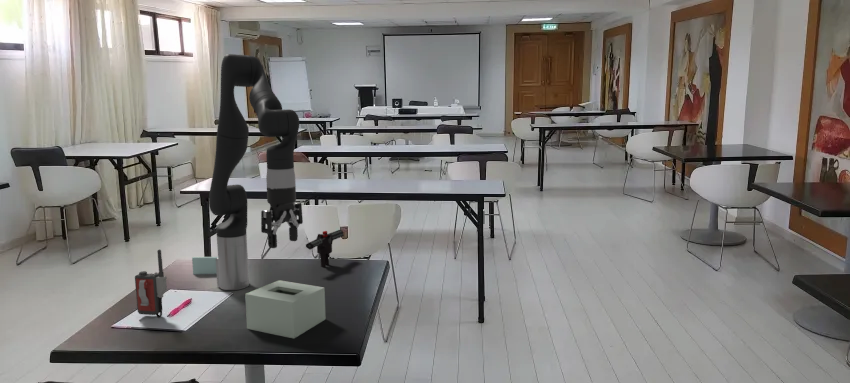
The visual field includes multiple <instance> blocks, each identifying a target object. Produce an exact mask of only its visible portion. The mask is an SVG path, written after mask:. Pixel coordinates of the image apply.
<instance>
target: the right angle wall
mask: <svg viewBox="0 0 850 383" xmlns="http://www.w3.org/2000/svg"><path fill="white" fill-rule="evenodd" d="M216 258H218V256H192V257H191V261H192V275H217V272H216Z"/></svg>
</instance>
